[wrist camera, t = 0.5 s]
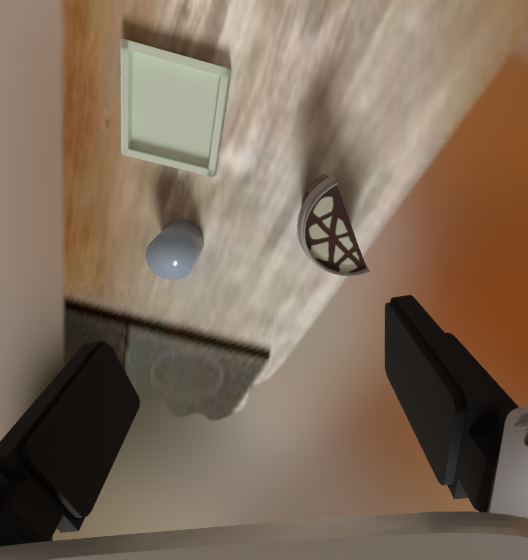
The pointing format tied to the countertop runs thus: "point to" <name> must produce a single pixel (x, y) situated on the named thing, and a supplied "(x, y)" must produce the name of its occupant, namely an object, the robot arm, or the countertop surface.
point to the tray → (172, 108)
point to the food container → (329, 231)
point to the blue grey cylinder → (175, 250)
